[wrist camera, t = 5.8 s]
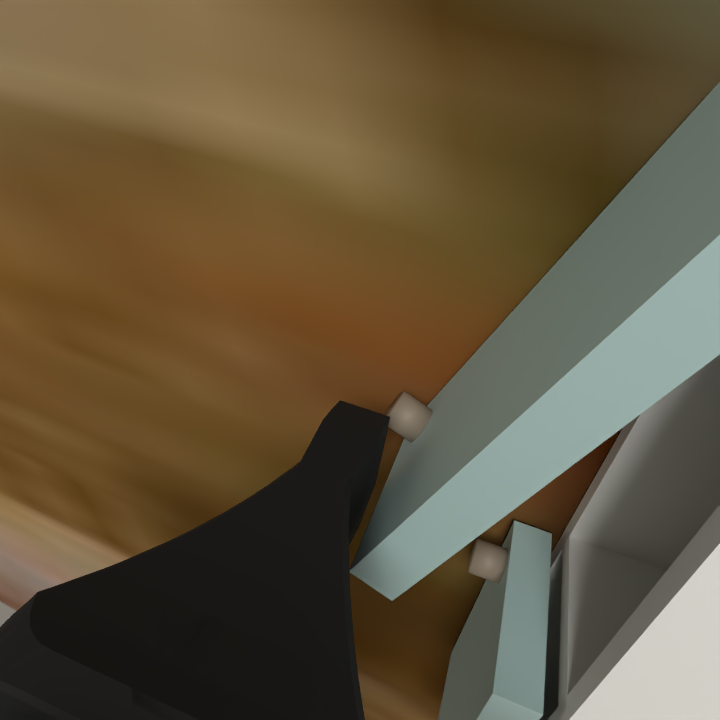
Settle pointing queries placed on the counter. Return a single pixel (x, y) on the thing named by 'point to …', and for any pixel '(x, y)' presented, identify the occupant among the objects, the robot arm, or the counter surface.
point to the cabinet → (609, 587)
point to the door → (561, 364)
